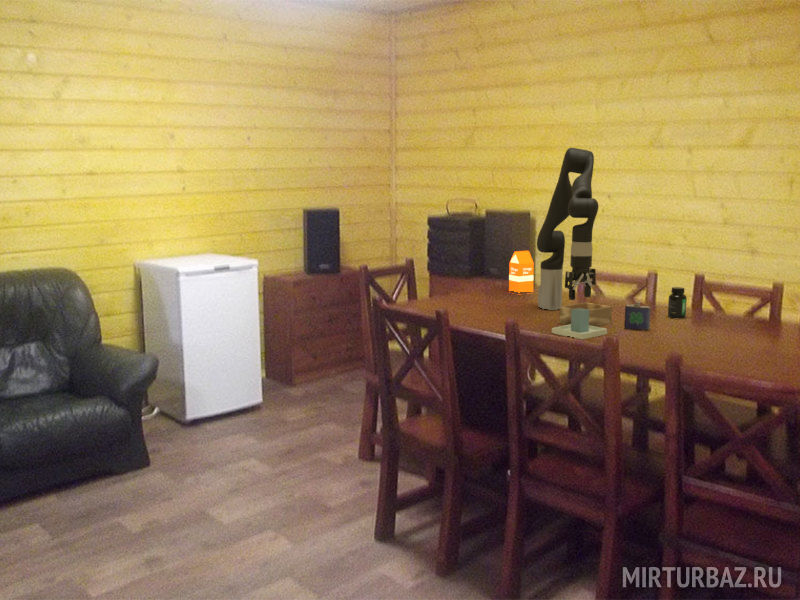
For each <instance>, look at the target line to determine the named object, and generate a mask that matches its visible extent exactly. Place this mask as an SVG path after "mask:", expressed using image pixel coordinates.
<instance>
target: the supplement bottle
mask: <svg viewBox="0 0 800 600" xmlns="http://www.w3.org/2000/svg"><path fill="white" fill-rule="evenodd" d="M687 298H688V297H687V295H686V294H685V287H681V286H673V287H671V294H669V295H668V303H667V307H668V308H667V317H668V318H669V317H670V319H673V318H684V319H686V316H687Z"/></svg>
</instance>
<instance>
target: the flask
mask: <svg viewBox="0 0 800 600" xmlns="http://www.w3.org/2000/svg"><path fill="white" fill-rule="evenodd" d="M623 323H624V325H623V326H624V327H623V329H624V330H628V329H630V330H631V331H639V330H645V331H644V332H649V331H650V329H651V328H650V325H651V324H650V323H651V306H646V305H645V306H643V305H641V301H635V304H631V303H629V304H626V305H625V307H624V322H623ZM648 330H649V331H648Z"/></svg>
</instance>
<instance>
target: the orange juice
mask: <svg viewBox="0 0 800 600" xmlns="http://www.w3.org/2000/svg"><path fill="white" fill-rule="evenodd" d="M508 265H509V273H508V292H509V291H514V292H518V293H520V292H533V293H534V274H535V273H534V265H535V263H534V260H533V258H532V255H531V253H530V251H529V250H518V251H516V250H515V251H514V252H513V254H512V256H511V259H510V261H509V264H508Z"/></svg>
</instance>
